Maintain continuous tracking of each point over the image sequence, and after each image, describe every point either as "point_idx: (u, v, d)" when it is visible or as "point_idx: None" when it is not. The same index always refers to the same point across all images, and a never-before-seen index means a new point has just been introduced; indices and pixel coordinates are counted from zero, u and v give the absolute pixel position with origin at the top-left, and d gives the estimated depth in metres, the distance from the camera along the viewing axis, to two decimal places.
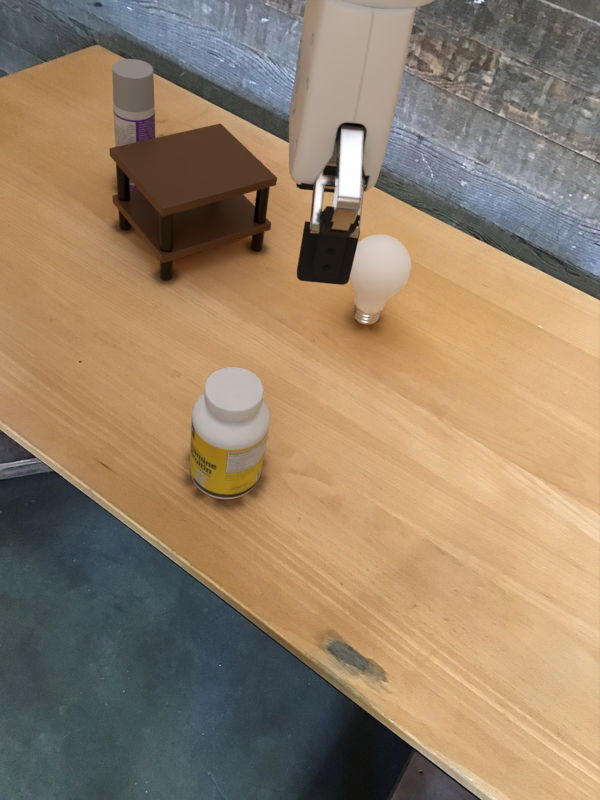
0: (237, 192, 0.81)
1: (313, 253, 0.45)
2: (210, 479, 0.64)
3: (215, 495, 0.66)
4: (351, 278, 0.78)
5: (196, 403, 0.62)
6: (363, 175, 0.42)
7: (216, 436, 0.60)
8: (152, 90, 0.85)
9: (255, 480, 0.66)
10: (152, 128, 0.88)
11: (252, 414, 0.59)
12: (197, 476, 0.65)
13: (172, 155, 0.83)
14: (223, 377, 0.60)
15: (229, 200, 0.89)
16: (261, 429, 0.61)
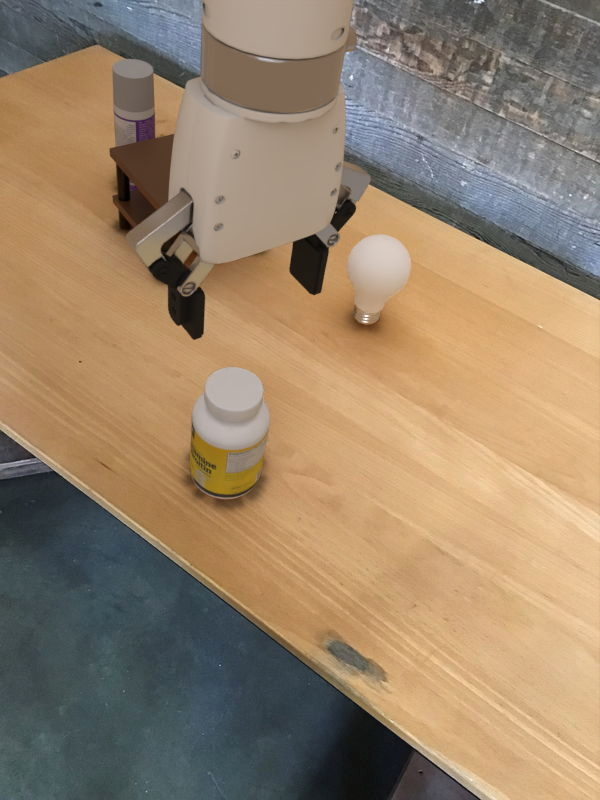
0: None
1: None
2: (210, 479, 0.64)
3: (215, 495, 0.66)
4: (351, 278, 0.78)
5: (196, 403, 0.62)
6: None
7: (216, 436, 0.60)
8: (152, 90, 0.85)
9: (255, 480, 0.66)
10: (152, 128, 0.88)
11: (252, 414, 0.59)
12: (197, 476, 0.65)
13: None
14: (223, 377, 0.60)
15: None
16: (261, 429, 0.61)
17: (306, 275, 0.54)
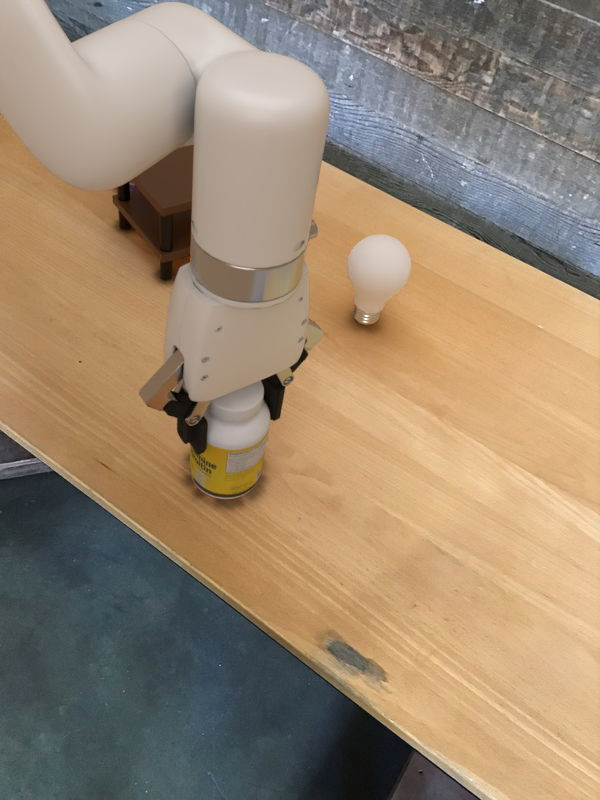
0: None
1: None
2: (210, 479, 0.64)
3: (215, 495, 0.66)
4: (351, 278, 0.78)
5: None
6: None
7: (216, 436, 0.60)
8: None
9: (255, 480, 0.66)
10: None
11: (252, 414, 0.59)
12: (197, 476, 0.65)
13: (172, 155, 0.83)
14: None
15: None
16: (262, 429, 0.61)
17: (267, 405, 0.63)
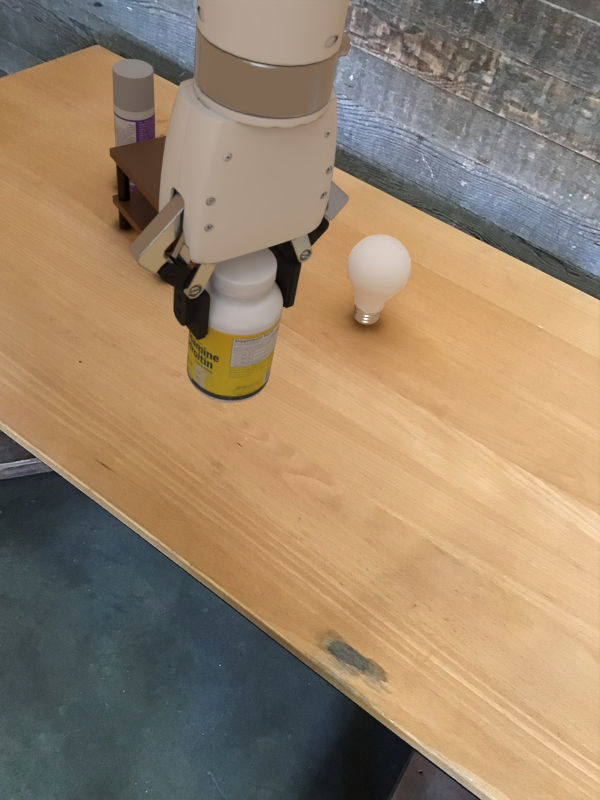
0: None
1: None
2: (212, 375, 0.55)
3: (216, 397, 0.56)
4: (351, 278, 0.78)
5: None
6: None
7: (219, 317, 0.51)
8: (152, 90, 0.85)
9: (263, 381, 0.57)
10: (152, 128, 0.88)
11: (263, 291, 0.50)
12: (195, 374, 0.56)
13: None
14: None
15: None
16: (273, 312, 0.52)
17: None
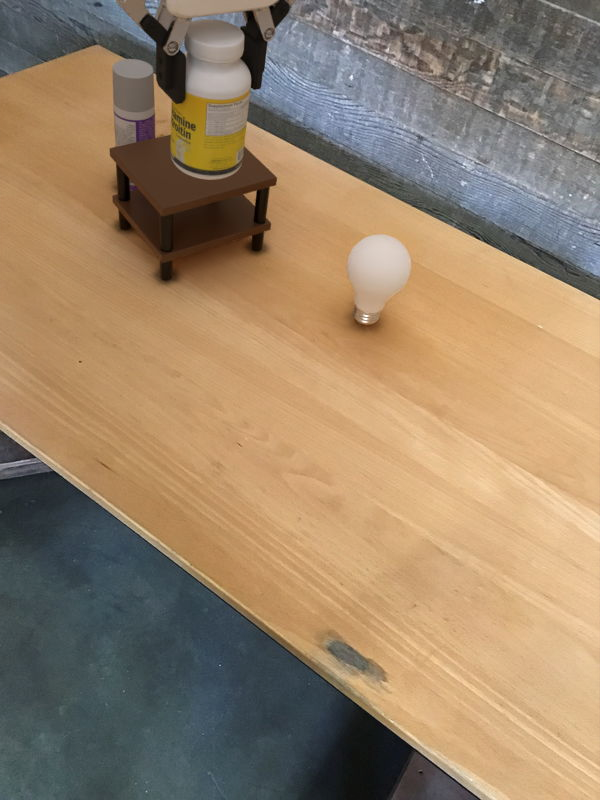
0: (237, 192, 0.81)
1: None
2: (190, 147, 0.64)
3: (194, 171, 0.65)
4: (351, 278, 0.78)
5: None
6: None
7: (195, 81, 0.60)
8: (152, 90, 0.85)
9: (236, 160, 0.66)
10: (152, 128, 0.88)
11: (232, 57, 0.59)
12: (177, 150, 0.65)
13: None
14: (204, 24, 0.60)
15: (229, 200, 0.89)
16: (242, 82, 0.61)
17: None
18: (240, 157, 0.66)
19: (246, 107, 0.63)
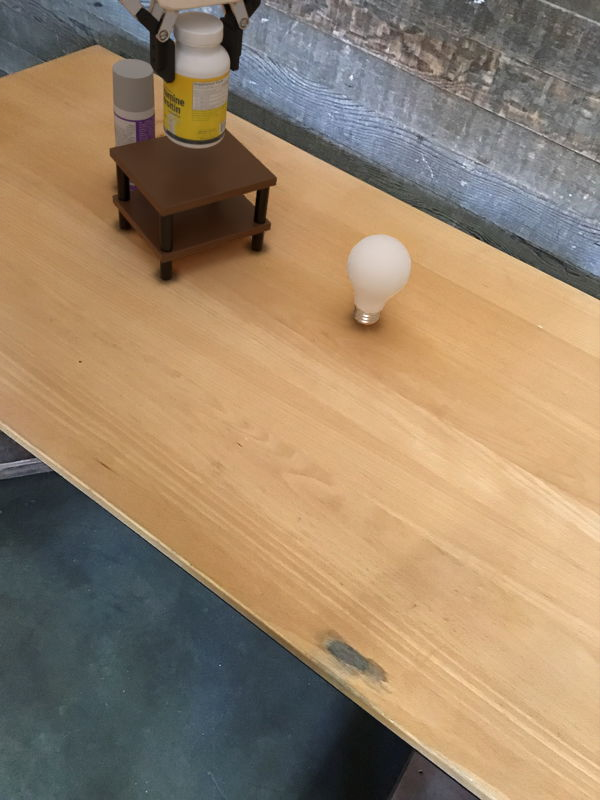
0: (237, 192, 0.81)
1: None
2: (180, 120, 0.75)
3: (184, 141, 0.77)
4: (351, 278, 0.78)
5: None
6: None
7: (183, 63, 0.71)
8: (152, 90, 0.85)
9: (219, 132, 0.78)
10: (152, 128, 0.88)
11: (213, 43, 0.71)
12: (169, 124, 0.77)
13: (172, 155, 0.83)
14: (189, 16, 0.72)
15: (229, 200, 0.89)
16: (222, 64, 0.72)
17: None
18: (222, 129, 0.78)
19: (226, 85, 0.75)
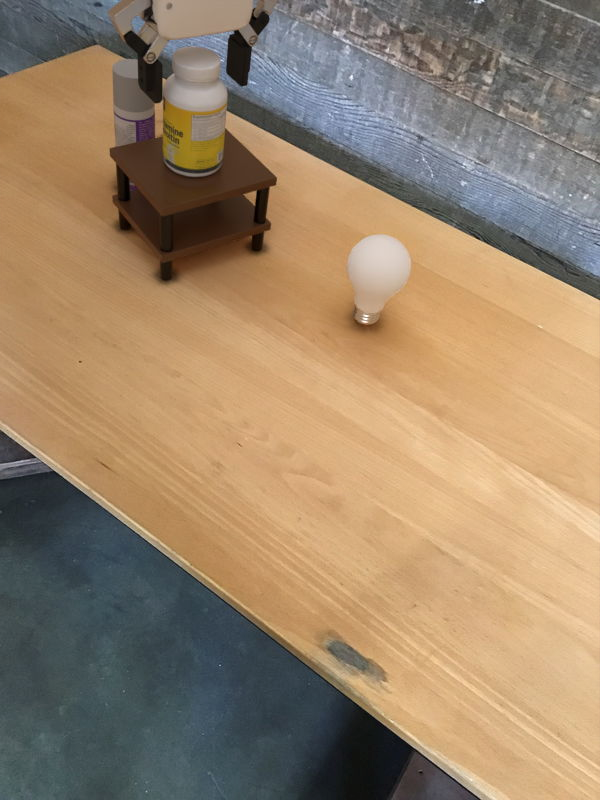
0: (237, 192, 0.81)
1: None
2: (179, 150, 0.78)
3: (183, 170, 0.79)
4: (351, 278, 0.78)
5: None
6: None
7: (181, 97, 0.74)
8: None
9: (217, 161, 0.80)
10: (152, 128, 0.88)
11: (211, 78, 0.73)
12: (168, 153, 0.79)
13: None
14: (188, 51, 0.74)
15: (229, 200, 0.89)
16: (219, 97, 0.75)
17: (236, 71, 0.77)
18: (220, 158, 0.81)
19: (224, 117, 0.77)
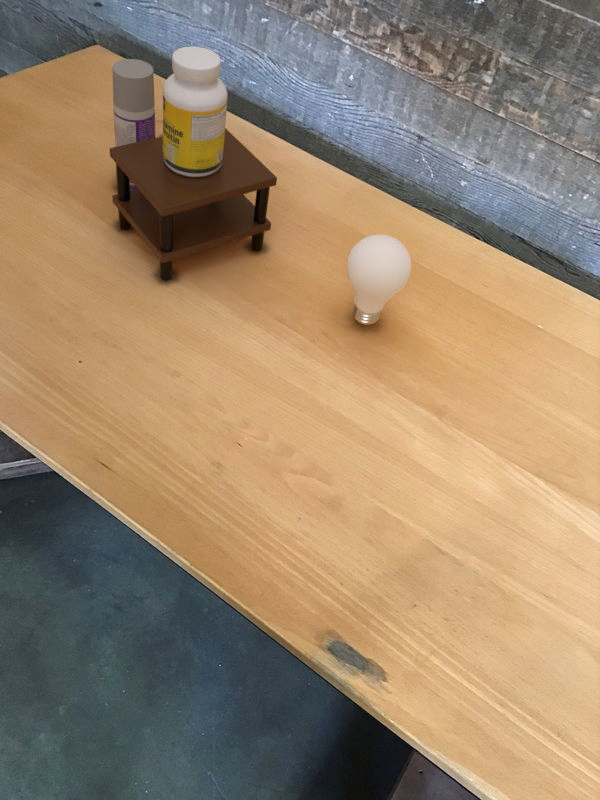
0: (237, 192, 0.81)
1: None
2: (179, 150, 0.78)
3: (183, 170, 0.79)
4: (351, 278, 0.78)
5: None
6: None
7: (181, 97, 0.74)
8: (152, 90, 0.85)
9: (217, 161, 0.80)
10: (152, 128, 0.88)
11: (211, 78, 0.73)
12: (168, 153, 0.79)
13: None
14: (188, 51, 0.74)
15: (229, 200, 0.89)
16: (219, 97, 0.75)
17: None
18: (220, 158, 0.81)
19: (224, 117, 0.77)
